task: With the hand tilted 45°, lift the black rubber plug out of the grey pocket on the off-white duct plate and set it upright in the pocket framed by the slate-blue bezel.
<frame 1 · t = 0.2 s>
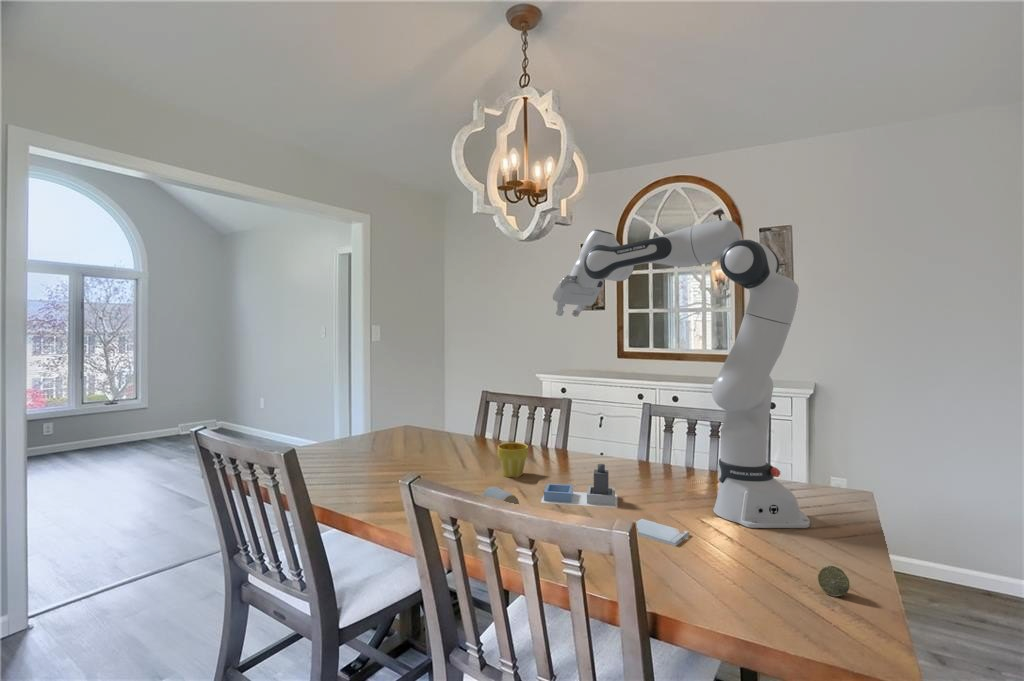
hand: (566, 315, 169), 54 cm above the table, tool tilted 30°, fingers open, 8 cm apart
duct plate: (579, 501, 145), on the table
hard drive: (657, 536, 123), on the table
plug: (601, 499, 143), point 1 cm above the table, touching duct plate
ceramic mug: (503, 518, 133), on the table
lime: (833, 594, 95), on the table
plant pot: (512, 475, 172), on the table
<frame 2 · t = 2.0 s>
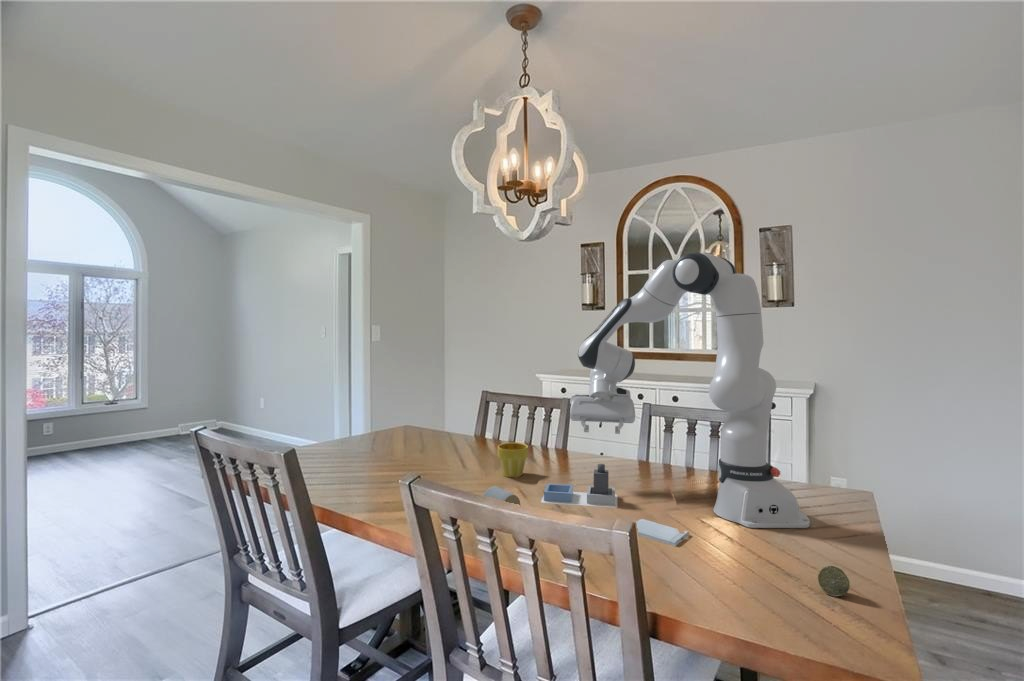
hand: (601, 432, 155), 18 cm above the table, tool tilted 45°, fingers open, 8 cm apart
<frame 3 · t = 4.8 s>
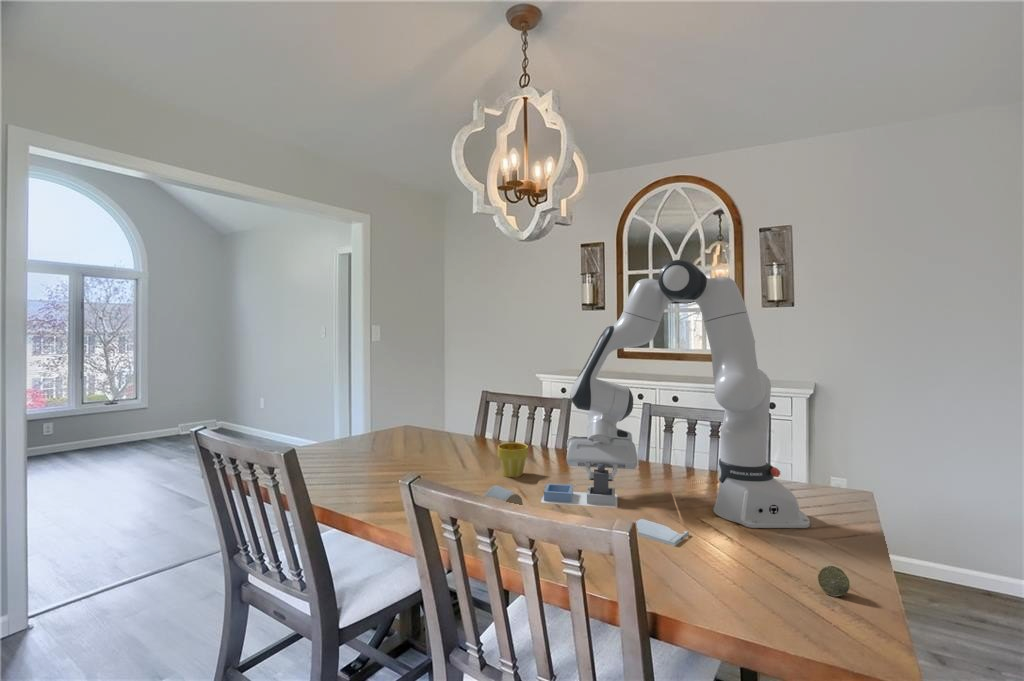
hand: (601, 479, 143), 7 cm above the table, tool tilted 45°, fingers closed on plug, 4 cm apart
plug: (601, 499, 143), point 1 cm above the table, touching duct plate, gripper
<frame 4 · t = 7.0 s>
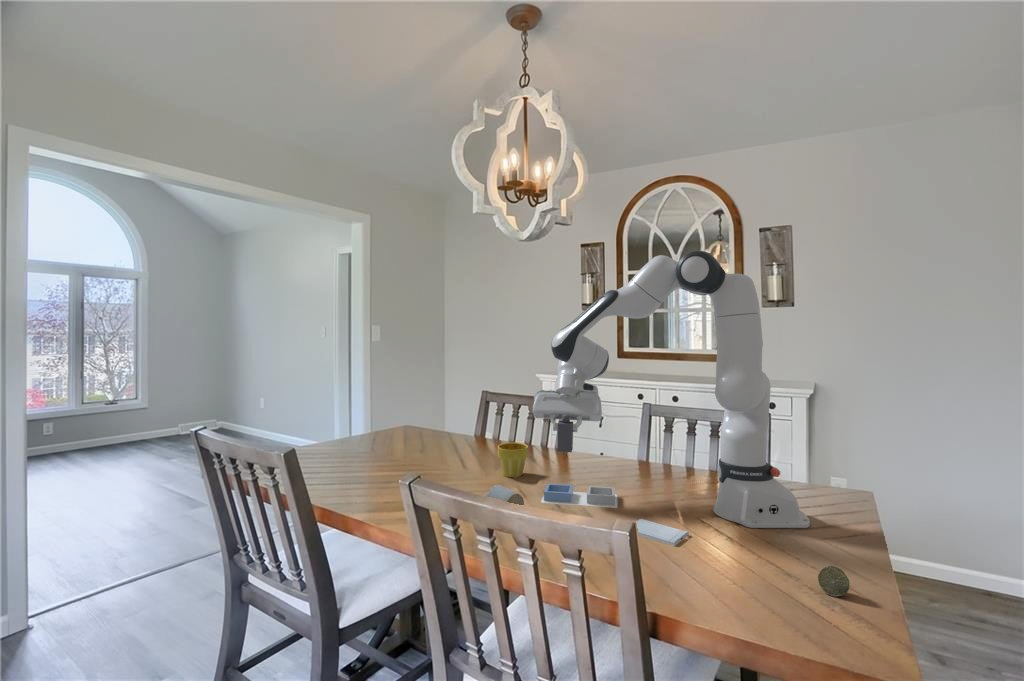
hand: (565, 430, 145), 20 cm above the table, tool tilted 45°, fingers closed on plug, 4 cm apart
plug: (565, 450, 146), point 15 cm above the table, touching gripper
when the fingers open (8 cm above the table, at t = 9.7 s): plug drops 1 cm, resting on duct plate.
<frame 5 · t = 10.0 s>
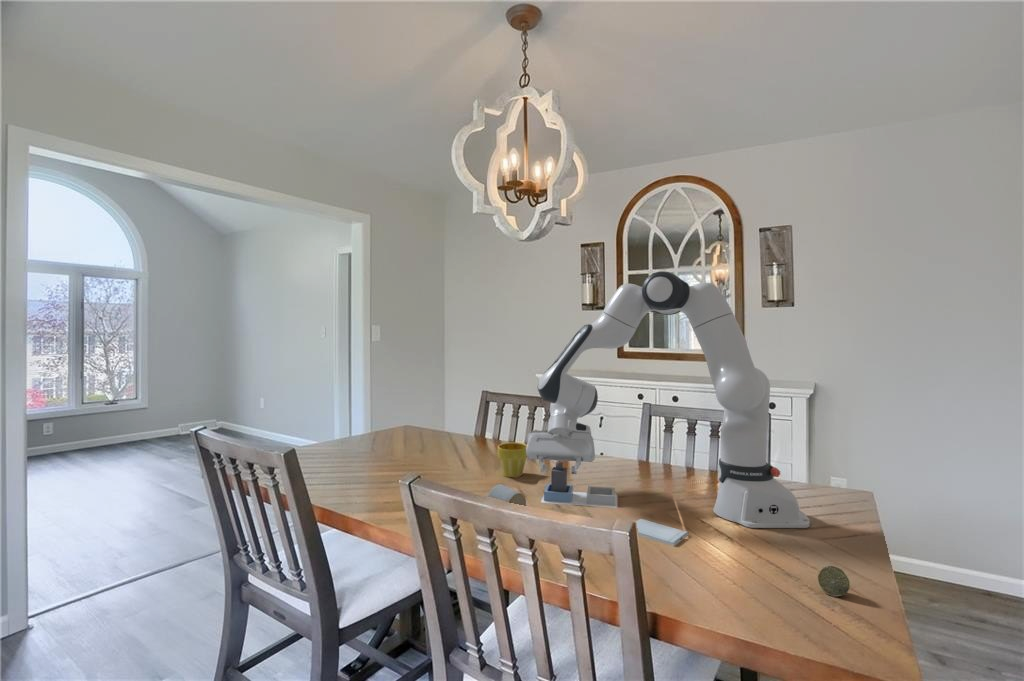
hand: (558, 472, 145), 8 cm above the table, tool tilted 45°, fingers open, 7 cm apart
plug: (559, 497, 146), point 1 cm above the table, touching duct plate
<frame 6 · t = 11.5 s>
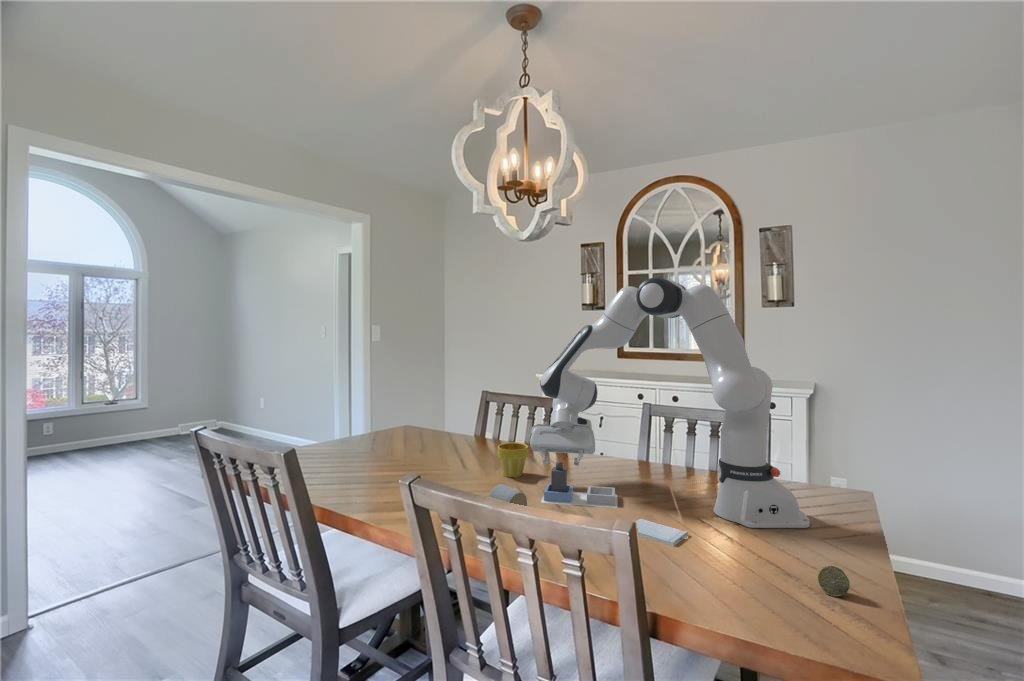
hand: (560, 463, 153), 9 cm above the table, tool tilted 45°, fingers open, 8 cm apart
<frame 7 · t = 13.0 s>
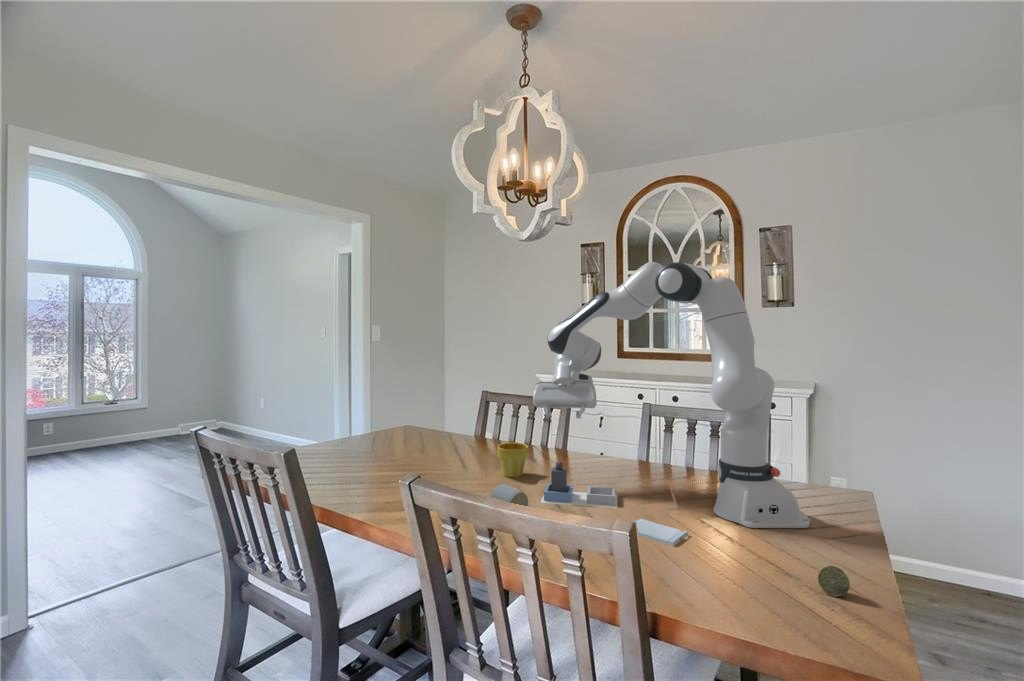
hand: (563, 416, 157), 22 cm above the table, tool tilted 45°, fingers open, 8 cm apart
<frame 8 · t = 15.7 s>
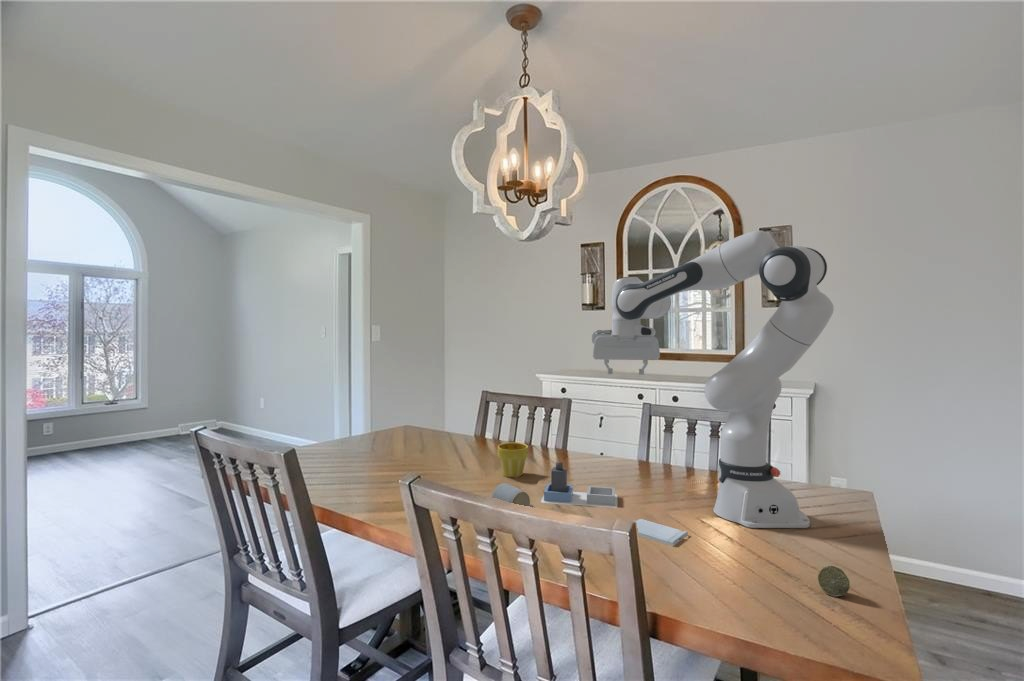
hand: (625, 374, 157), 35 cm above the table, tool pointing down, fingers open, 8 cm apart
at the end: plug 0.1 cm from the target spot on the duct plate, point 1.0 cm above the duct plate's base; plug tilted 0°; the gripper is holding nothing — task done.
